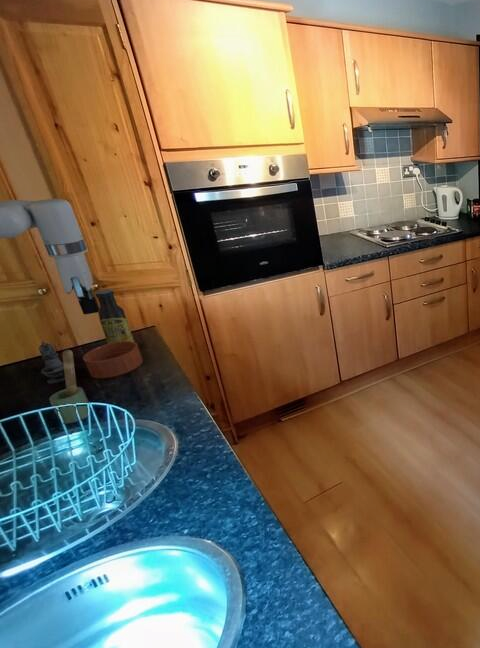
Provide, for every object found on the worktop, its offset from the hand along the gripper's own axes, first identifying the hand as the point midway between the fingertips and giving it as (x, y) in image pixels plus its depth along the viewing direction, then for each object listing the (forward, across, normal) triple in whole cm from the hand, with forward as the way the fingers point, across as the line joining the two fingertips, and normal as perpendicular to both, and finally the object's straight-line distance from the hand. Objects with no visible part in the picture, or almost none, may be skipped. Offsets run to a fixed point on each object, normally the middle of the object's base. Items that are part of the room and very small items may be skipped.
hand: (91, 311), depth 124 cm
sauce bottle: (+20, -16, +2) cm, 25 cm away
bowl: (+19, -2, +1) cm, 19 cm away
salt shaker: (+20, -5, -12) cm, 24 cm away
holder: (+19, +21, -6) cm, 30 cm away
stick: (+19, +21, -7) cm, 29 cm away
